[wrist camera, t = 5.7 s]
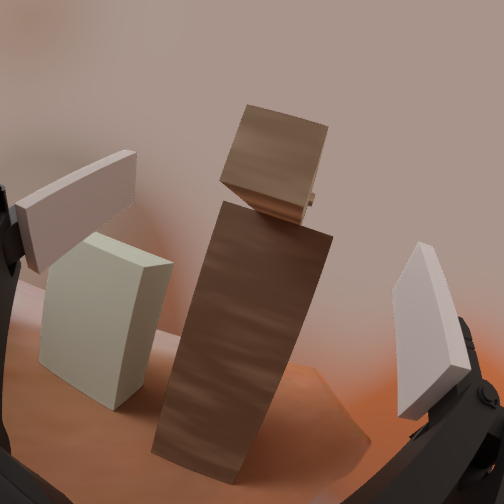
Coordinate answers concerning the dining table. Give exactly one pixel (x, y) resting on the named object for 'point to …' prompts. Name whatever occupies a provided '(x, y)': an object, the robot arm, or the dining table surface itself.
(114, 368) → the cream upright block
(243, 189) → the brown square block
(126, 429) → the dining table surface
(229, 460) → the wooden block
